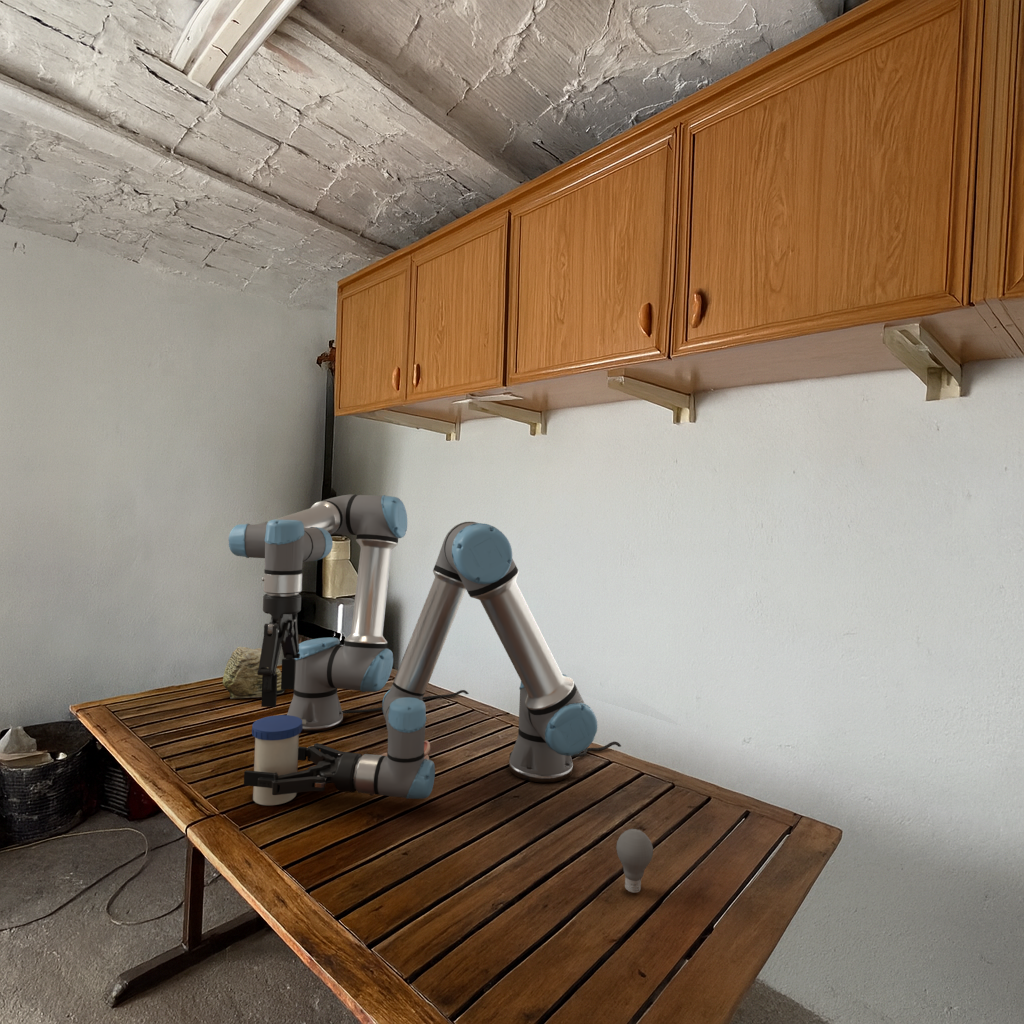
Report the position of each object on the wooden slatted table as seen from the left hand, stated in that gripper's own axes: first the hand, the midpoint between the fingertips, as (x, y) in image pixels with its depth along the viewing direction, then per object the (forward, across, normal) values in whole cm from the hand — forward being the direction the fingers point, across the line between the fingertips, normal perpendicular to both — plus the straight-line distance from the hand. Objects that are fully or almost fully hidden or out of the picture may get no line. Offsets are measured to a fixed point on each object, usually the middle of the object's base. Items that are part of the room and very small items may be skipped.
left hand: (278, 697), depth 133 cm
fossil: (+21, -66, -29) cm, 74 cm away
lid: (+6, 0, 0) cm, 6 cm away
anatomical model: (+21, -18, +24) cm, 37 cm away
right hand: (+14, 0, -3) cm, 15 cm away
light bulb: (+21, +30, +69) cm, 78 cm away
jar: (+21, 0, 0) cm, 21 cm away
